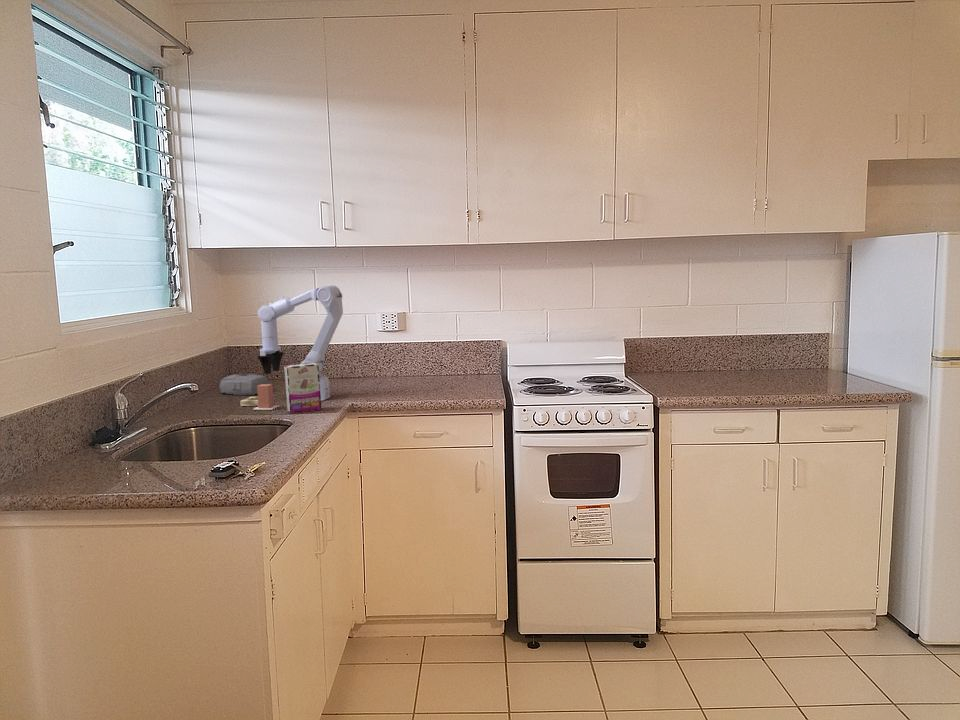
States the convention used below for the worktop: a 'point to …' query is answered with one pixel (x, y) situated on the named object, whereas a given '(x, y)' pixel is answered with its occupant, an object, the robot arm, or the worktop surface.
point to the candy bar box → (302, 387)
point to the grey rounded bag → (242, 384)
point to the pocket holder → (249, 401)
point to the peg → (265, 396)
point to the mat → (266, 408)
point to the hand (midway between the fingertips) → (272, 372)
